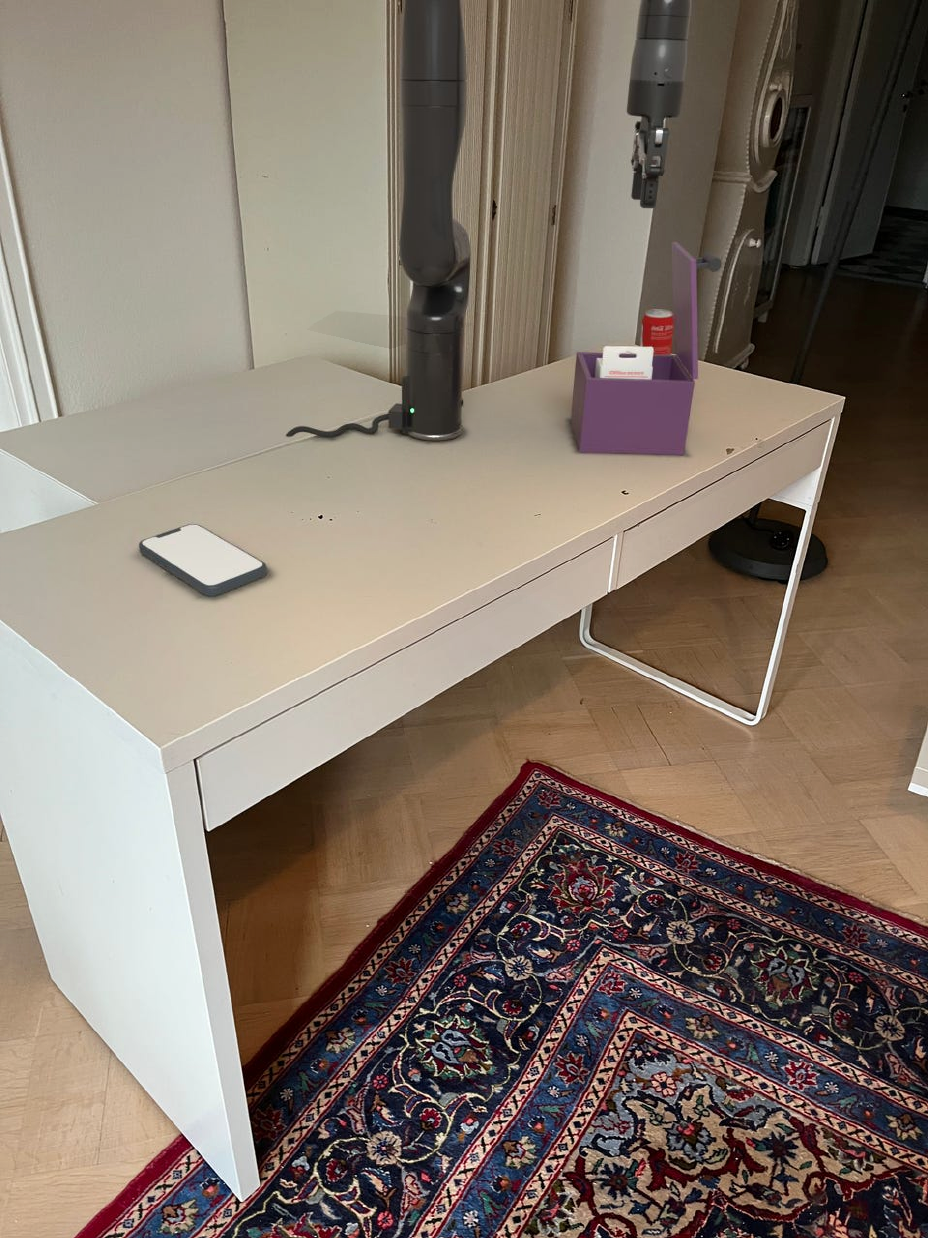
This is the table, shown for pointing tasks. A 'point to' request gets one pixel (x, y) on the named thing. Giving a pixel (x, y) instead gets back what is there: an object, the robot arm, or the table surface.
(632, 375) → the ink cartridge box
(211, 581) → the smartphone
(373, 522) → the table surface
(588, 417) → the box
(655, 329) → the beverage can
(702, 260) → the lid
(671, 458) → the table surface
